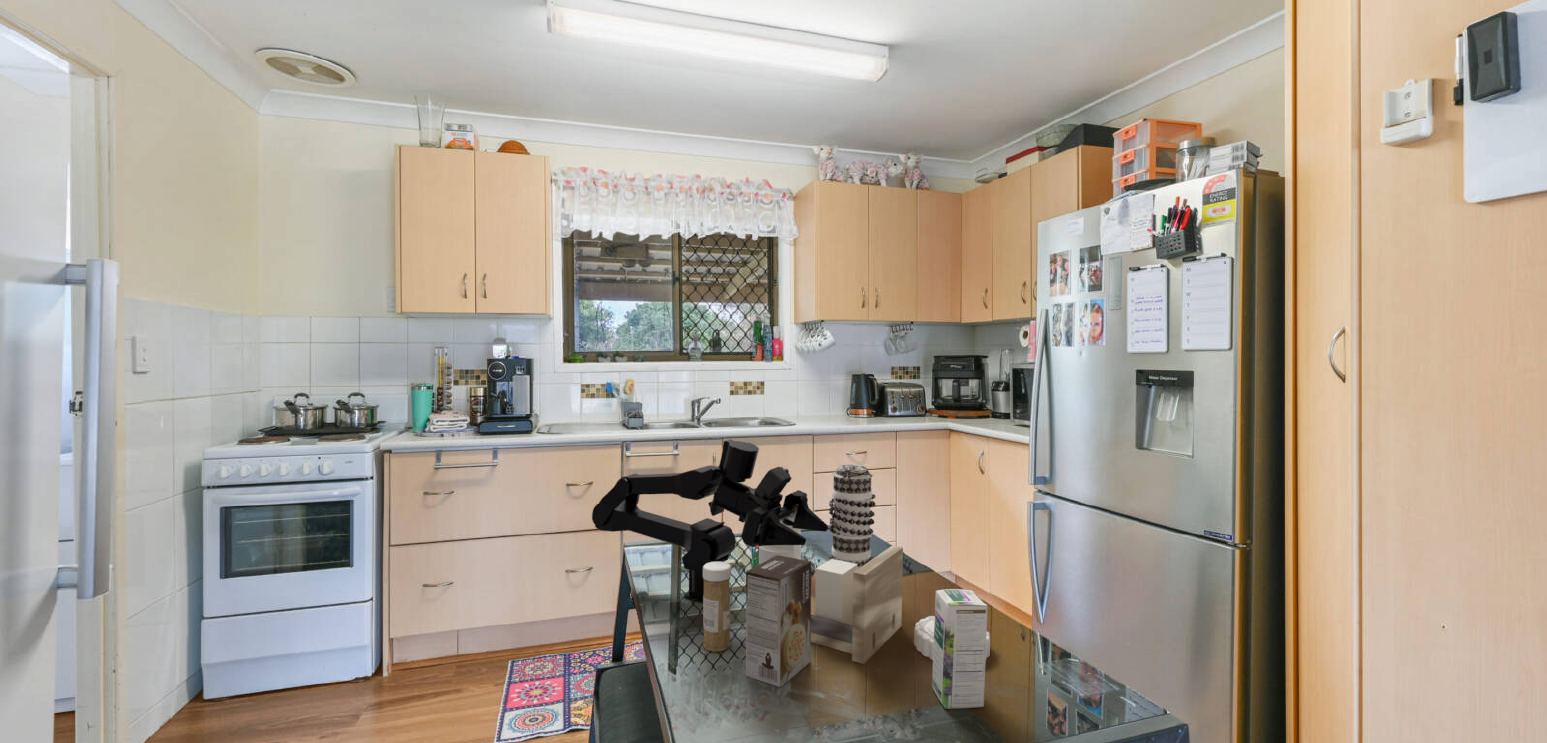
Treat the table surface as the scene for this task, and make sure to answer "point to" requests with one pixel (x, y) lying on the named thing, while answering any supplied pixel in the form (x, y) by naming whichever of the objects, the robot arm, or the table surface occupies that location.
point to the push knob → (834, 590)
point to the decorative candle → (852, 514)
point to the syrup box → (959, 648)
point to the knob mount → (867, 609)
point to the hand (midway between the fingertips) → (816, 535)
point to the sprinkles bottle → (716, 606)
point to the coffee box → (778, 619)
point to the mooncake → (932, 637)
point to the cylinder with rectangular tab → (780, 549)
